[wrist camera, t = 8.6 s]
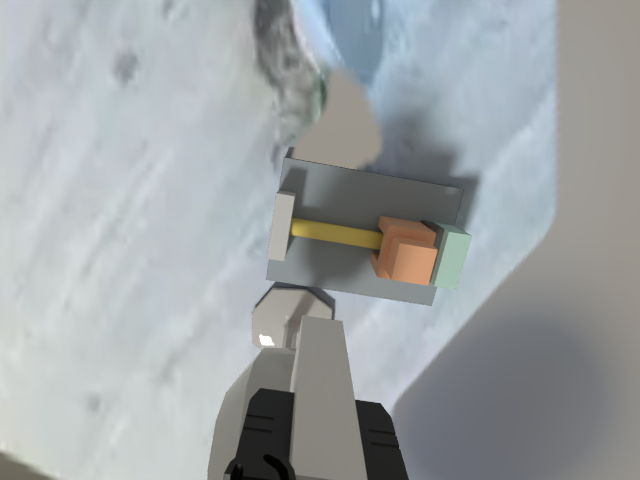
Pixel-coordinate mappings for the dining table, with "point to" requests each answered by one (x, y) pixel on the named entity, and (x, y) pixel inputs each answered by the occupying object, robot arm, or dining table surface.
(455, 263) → the linear slide rail
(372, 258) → the sleeve
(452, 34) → the dining table surface
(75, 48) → the dining table surface
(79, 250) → the dining table surface
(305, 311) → the wineglass
